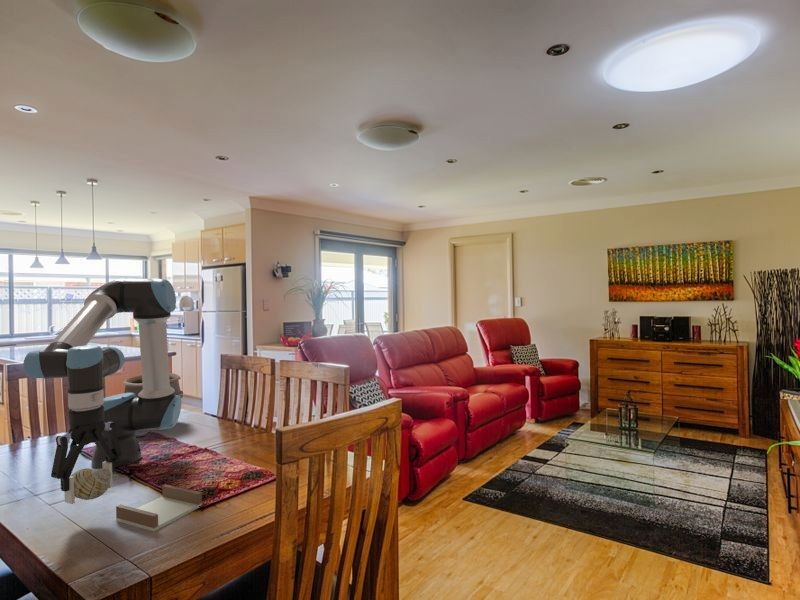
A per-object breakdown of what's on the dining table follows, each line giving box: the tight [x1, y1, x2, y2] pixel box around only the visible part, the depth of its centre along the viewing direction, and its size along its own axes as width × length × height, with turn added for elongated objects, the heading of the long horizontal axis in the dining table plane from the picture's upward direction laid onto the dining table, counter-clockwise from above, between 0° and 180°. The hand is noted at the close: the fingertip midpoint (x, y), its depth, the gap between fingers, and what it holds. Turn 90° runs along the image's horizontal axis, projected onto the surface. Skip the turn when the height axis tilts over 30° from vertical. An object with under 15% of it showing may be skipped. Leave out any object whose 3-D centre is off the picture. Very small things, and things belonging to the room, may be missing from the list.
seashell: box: [71, 468, 111, 501], centre depth 119 cm, size 10×10×10 cm
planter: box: [122, 372, 184, 400], centre depth 209 cm, size 25×24×22 cm
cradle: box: [115, 484, 203, 532], centre depth 125 cm, size 14×15×4 cm
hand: (89, 494), depth 119 cm, fingers closed on seashell, 9 cm apart
